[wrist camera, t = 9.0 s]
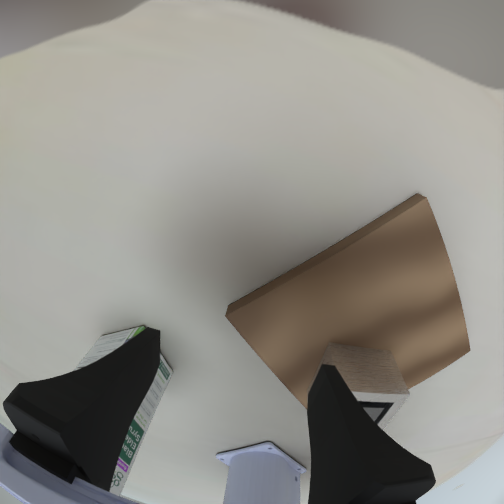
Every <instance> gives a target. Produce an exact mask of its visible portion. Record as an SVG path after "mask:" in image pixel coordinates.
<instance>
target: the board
mask: <svg viewBox="0 0 504 504" xmlns="http://www.w3.org/2000/svg"><path fill="white" fill-rule="evenodd" d="M225 316H226V318H227V319H228V320H229V321H230V323H231V324H232V325H233V326H234V327H235V329H236V330H237V331H238V332H239V333H240V335H241V336H242V337H243V338H244V339H245V340H246V342H247V343H248V344H249V345H250V346H251V348H252V349H253V350H254V351H255V352H256V353H257V354H258V356H259V357H260V358H261V359H262V360H263V361H264V363H265V364H266V365H267V366H268V367H269V368H270V369H271V371H272V372H273V373H274V374H275V375H276V376H277V377H278V378H279V380H280V381H281V382H282V383H283V384H284V385H285V386H286V387H287V388H288V389H289V391H290V392H291V393H292V394H293V395H294V396H295V397H296V398H297V399H298V400H299V401H300V403H301V404H302V405H303V406H304V407H305V408H306V409H307V404H308V403H307V389H308V387H309V385H310V383H311V381H312V379H313V377H314V374H315V372H316V370H317V368H318V366H319V364H320V362H321V359H322V357H323V355H324V353H325V350H326V348H327V346H328V344H329V342H330V343H336V344H343V345H350V346H357V347H364V348H371V349H379V350H387V351H391V352H392V354H393V356H394V359H395V361H396V363H397V365H398V368H399V370H400V372H401V374H402V377H403V379H404V381H405V384H406V386H407V388H408V389H410V388H411V387H413V386H415V385H417V384H419V383H420V382H422V381H424V380H426V379H427V378H429V377H431V376H432V375H434V374H436V373H437V372H439V371H440V370H442V369H444V368H445V367H447V366H448V365H450V364H451V363H453V362H454V361H456V360H457V359H459V358H460V357H462V356H463V355H465V354H466V353H468V352H469V351H470V345H469V339H468V333H467V328H466V323H465V318H464V313H463V309H462V304H461V300H460V296H459V292H458V288H457V284H456V281H455V277H454V274H453V270H452V267H451V263H450V260H449V257H448V254H447V251H446V248H445V245H444V242H443V239H442V236H441V233H440V230H439V228H438V225H437V222H436V220H435V217H434V214H433V212H432V209H431V207H430V204H429V202H428V200H427V197H424V196H422V195H420V194H415V195H414V196H412V197H411V198H409V199H408V200H406V201H404V202H403V203H401V204H400V205H398V206H397V207H395V208H393V209H392V210H390V211H389V212H387V213H385V214H384V215H382V216H381V217H379V218H377V219H376V220H374V221H373V222H371V223H369V224H368V225H366V226H364V227H363V228H361V229H359V230H358V231H356V232H355V233H353V234H351V235H350V236H348V237H346V238H345V239H343V240H341V241H340V242H338V243H336V244H335V245H333V246H331V247H330V248H328V249H326V250H325V251H323V252H321V253H319V254H318V255H316V256H314V257H313V258H311V259H309V260H308V261H306V262H304V263H302V264H301V265H299V266H297V267H296V268H294V269H292V270H290V271H289V272H287V273H285V274H283V275H282V276H280V277H278V278H276V279H275V280H273V281H271V282H269V283H268V284H266V285H264V286H262V287H261V288H259V289H257V290H255V291H253V292H252V293H250V294H248V295H246V296H244V297H243V298H241V299H239V300H237V301H235V302H234V303H232V304H230V305H228V308H227V312H226V315H225Z"/></svg>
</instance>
